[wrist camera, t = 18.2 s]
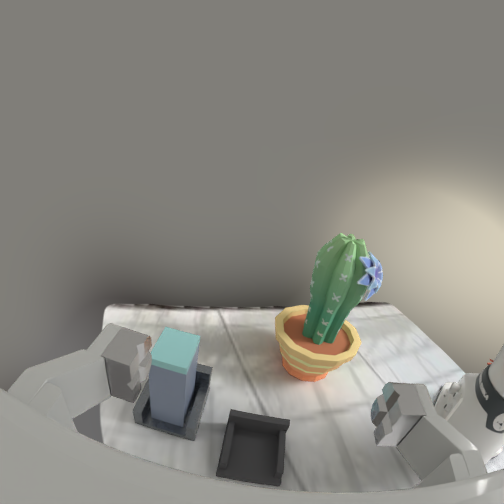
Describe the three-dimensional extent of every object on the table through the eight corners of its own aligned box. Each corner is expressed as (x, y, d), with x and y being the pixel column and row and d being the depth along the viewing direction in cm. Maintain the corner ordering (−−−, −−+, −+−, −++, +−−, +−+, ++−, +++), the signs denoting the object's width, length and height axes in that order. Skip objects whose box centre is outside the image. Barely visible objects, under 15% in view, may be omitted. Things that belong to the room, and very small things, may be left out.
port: (194, 440, 35) (197, 416, 32) (134, 422, 35) (130, 395, 32) (209, 389, 44) (213, 362, 41) (157, 375, 44) (157, 347, 42)
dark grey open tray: (279, 486, 30) (287, 475, 29) (215, 475, 30) (218, 464, 29) (282, 433, 38) (289, 419, 37) (227, 423, 39) (230, 409, 37)
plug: (182, 426, 36) (186, 368, 31) (151, 417, 36) (147, 357, 31) (193, 396, 41) (200, 336, 37) (164, 387, 41) (165, 326, 37)
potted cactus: (278, 400, 44) (329, 256, 34) (255, 338, 58) (285, 212, 48) (358, 388, 49) (419, 263, 39) (325, 336, 62) (365, 223, 52)
